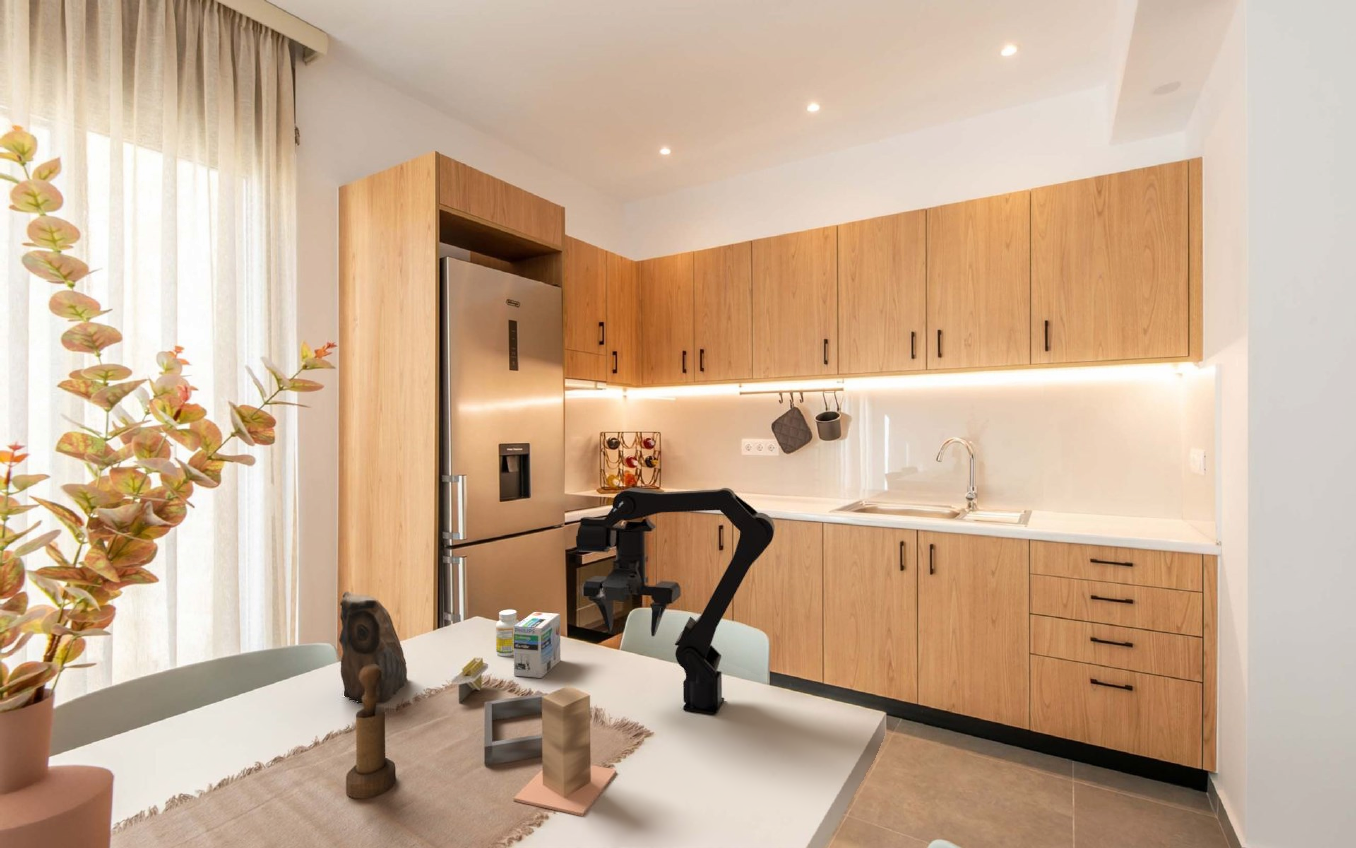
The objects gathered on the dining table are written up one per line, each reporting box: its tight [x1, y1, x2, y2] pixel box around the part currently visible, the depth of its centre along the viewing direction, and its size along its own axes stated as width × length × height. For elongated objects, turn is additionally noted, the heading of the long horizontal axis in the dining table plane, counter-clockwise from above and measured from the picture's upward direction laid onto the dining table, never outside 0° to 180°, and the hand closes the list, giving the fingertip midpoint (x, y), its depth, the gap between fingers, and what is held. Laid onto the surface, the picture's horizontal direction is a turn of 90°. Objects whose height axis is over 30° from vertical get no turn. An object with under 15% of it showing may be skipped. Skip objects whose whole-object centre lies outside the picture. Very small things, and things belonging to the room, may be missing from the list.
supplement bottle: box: [495, 609, 520, 657], centre depth 144 cm, size 5×5×10 cm
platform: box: [451, 657, 489, 704], centre depth 122 cm, size 12×18×7 cm, turn 174°
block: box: [541, 685, 592, 798], centre depth 90 cm, size 5×5×13 cm
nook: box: [483, 693, 548, 767], centre depth 105 cm, size 11×16×3 cm
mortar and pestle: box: [345, 664, 397, 800], centre depth 91 cm, size 7×6×18 cm
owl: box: [338, 591, 408, 705], centre depth 123 cm, size 13×13×20 cm
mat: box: [513, 764, 617, 817], centre depth 90 cm, size 11×11×1 cm
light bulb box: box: [513, 611, 561, 679], centre depth 135 cm, size 11×7×11 cm, turn 168°
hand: (631, 633), depth 118 cm, fingers open, 9 cm apart
